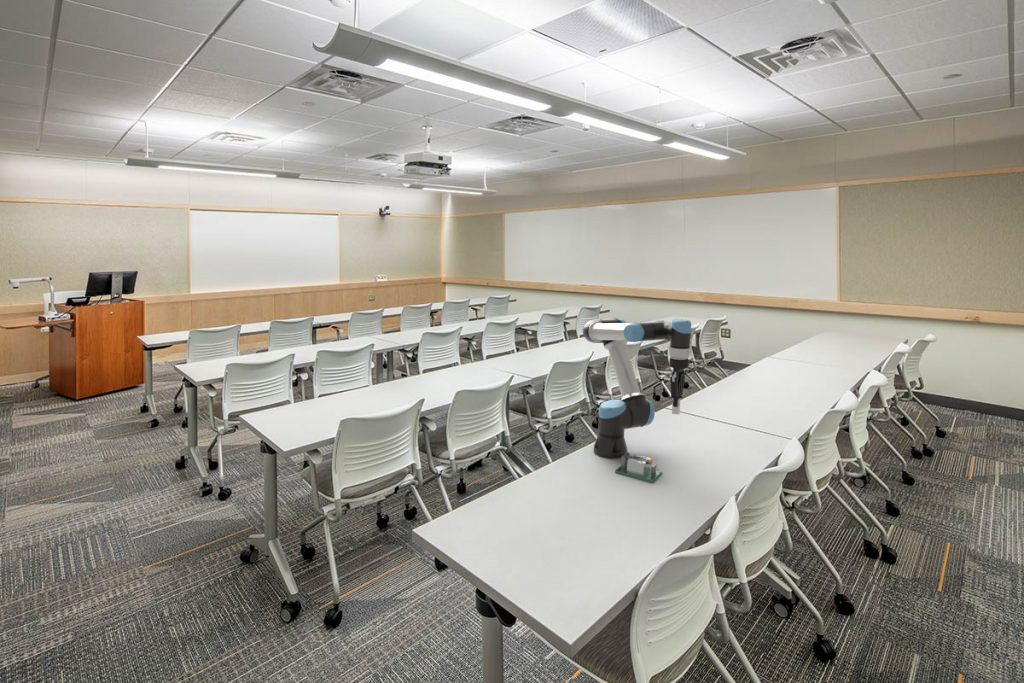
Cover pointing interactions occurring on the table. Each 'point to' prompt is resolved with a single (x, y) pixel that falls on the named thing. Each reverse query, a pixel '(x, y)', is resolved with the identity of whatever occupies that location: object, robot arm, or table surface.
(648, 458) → the grey rod
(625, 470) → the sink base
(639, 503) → the table surface
